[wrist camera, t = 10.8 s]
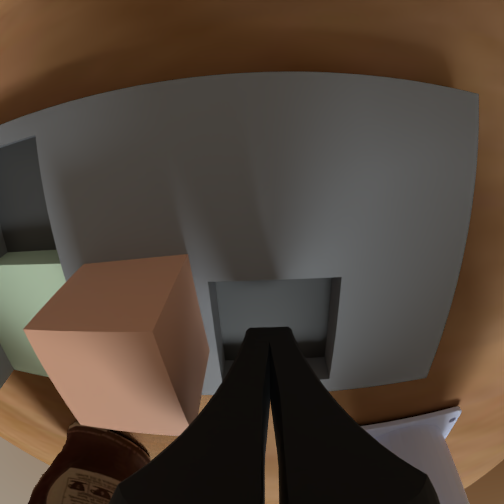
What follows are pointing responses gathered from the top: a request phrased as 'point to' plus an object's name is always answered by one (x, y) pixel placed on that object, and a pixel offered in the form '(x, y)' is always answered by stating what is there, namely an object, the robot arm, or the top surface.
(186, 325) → the block
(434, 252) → the board
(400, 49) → the top surface
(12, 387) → the top surface
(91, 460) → the coffee cup
